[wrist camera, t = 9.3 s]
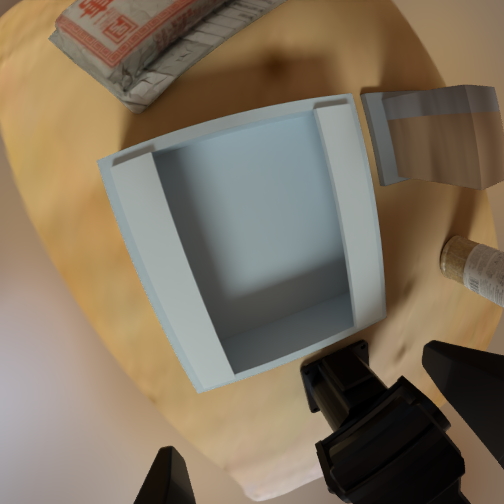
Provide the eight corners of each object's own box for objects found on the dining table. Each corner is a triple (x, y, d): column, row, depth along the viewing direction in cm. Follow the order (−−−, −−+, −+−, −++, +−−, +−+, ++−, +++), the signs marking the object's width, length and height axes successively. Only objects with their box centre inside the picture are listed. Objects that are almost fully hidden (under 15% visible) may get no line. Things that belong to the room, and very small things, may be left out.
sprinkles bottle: (465, 262, 25) (561, 310, 13) (440, 285, 25) (541, 345, 13) (461, 225, 24) (570, 266, 11) (435, 247, 23) (552, 302, 11)
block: (416, 96, 18) (494, 87, 11) (430, 167, 20) (508, 178, 13) (381, 99, 18) (464, 84, 10) (398, 176, 20) (481, 190, 12)
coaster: (437, 168, 21) (441, 169, 21) (380, 185, 20) (385, 186, 20) (421, 91, 19) (426, 90, 18) (360, 94, 18) (364, 93, 17)
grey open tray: (353, 291, 22) (389, 320, 18) (193, 351, 21) (198, 397, 16) (315, 106, 18) (355, 91, 13) (117, 161, 16) (94, 160, 11)
